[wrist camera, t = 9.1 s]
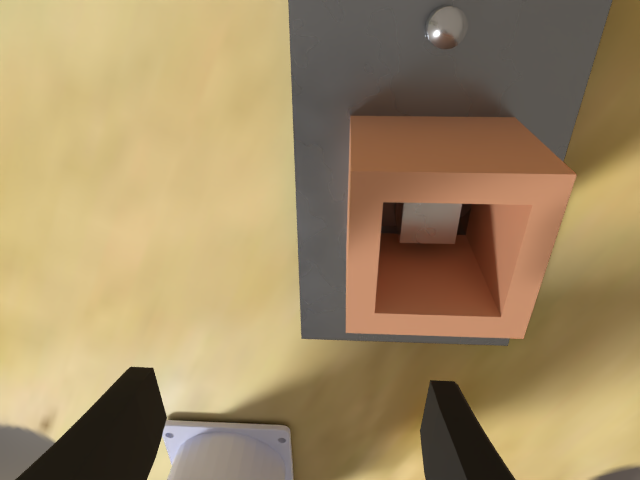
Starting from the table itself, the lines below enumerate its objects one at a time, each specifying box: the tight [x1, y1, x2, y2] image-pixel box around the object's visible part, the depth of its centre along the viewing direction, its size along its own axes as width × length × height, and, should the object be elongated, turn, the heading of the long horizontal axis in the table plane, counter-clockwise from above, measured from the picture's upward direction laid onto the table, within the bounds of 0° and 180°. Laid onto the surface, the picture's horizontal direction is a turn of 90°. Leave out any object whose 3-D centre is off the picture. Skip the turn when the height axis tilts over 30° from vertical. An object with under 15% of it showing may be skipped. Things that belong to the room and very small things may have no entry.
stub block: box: [288, 0, 612, 346], centre depth 17 cm, size 16×10×3 cm, turn 1°
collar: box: [346, 116, 577, 339], centre depth 15 cm, size 6×6×5 cm
